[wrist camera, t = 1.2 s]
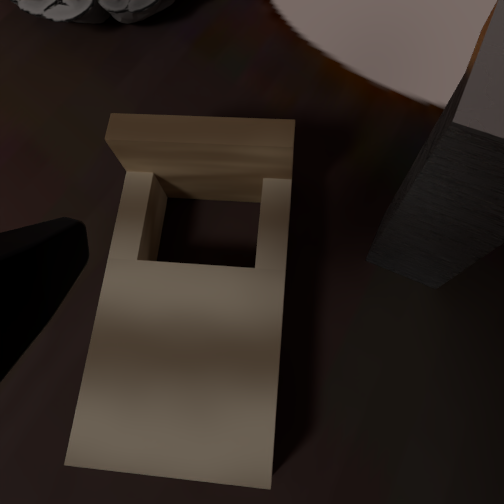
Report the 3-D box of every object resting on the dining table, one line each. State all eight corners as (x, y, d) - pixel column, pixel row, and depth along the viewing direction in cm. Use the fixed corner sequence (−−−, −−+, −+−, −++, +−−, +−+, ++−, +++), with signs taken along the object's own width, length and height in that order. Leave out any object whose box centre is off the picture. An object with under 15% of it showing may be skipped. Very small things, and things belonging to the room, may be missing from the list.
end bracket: (436, 289, 22) (606, 171, 11) (365, 260, 23) (452, 121, 11) (462, 211, 24) (640, 31, 12) (395, 187, 25) (500, -5, 13)
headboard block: (272, 476, 20) (268, 508, 14) (93, 455, 21) (23, 478, 15) (292, 181, 25) (295, 119, 19) (147, 174, 26) (110, 113, 20)
